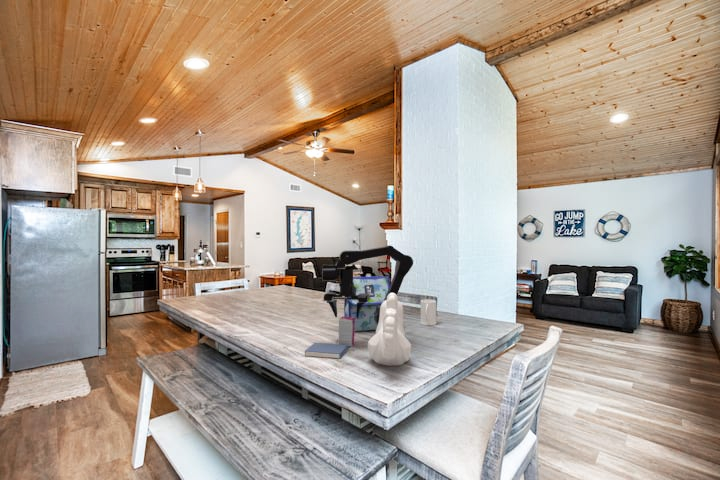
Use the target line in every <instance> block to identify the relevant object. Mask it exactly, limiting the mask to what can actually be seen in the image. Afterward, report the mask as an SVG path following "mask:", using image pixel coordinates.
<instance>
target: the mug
mask: <svg viewBox="0 0 720 480" xmlns="http://www.w3.org/2000/svg"><path fill="white" fill-rule="evenodd" d="M419 324H421V325H423V326H435V325H437V300H435V299H421V300H420V323H419Z"/></svg>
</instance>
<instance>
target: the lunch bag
mask: <svg viewBox="0 0 720 480" xmlns="http://www.w3.org/2000/svg"><path fill="white" fill-rule="evenodd" d="M353 282H354V286H355V287H356V295H359V294H360V293H367V294H369V296H370V300H369V301H368V302H366V303H365V304H363V305H362V308H361V310H360V314H359V317H358V318H357V316H356V313H357V302H359V301H358V300H351V299H344V303H343V308H344V309H343V311H344V312H343V313H344V316H343V317H354V318H355V330H354V333H356V332H361V331H364V332H366V331H367V332H368V331H376V329H377V326H378V324H377V323H376V322H375V320H374V312H375V311H376V307H377V306H379V307H380V306H381V304H382V303H383V301H384V299H385V296H386V294H387V291H388V289H389V286H390V281H389V276H353ZM349 298H351V297H349Z"/></svg>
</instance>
